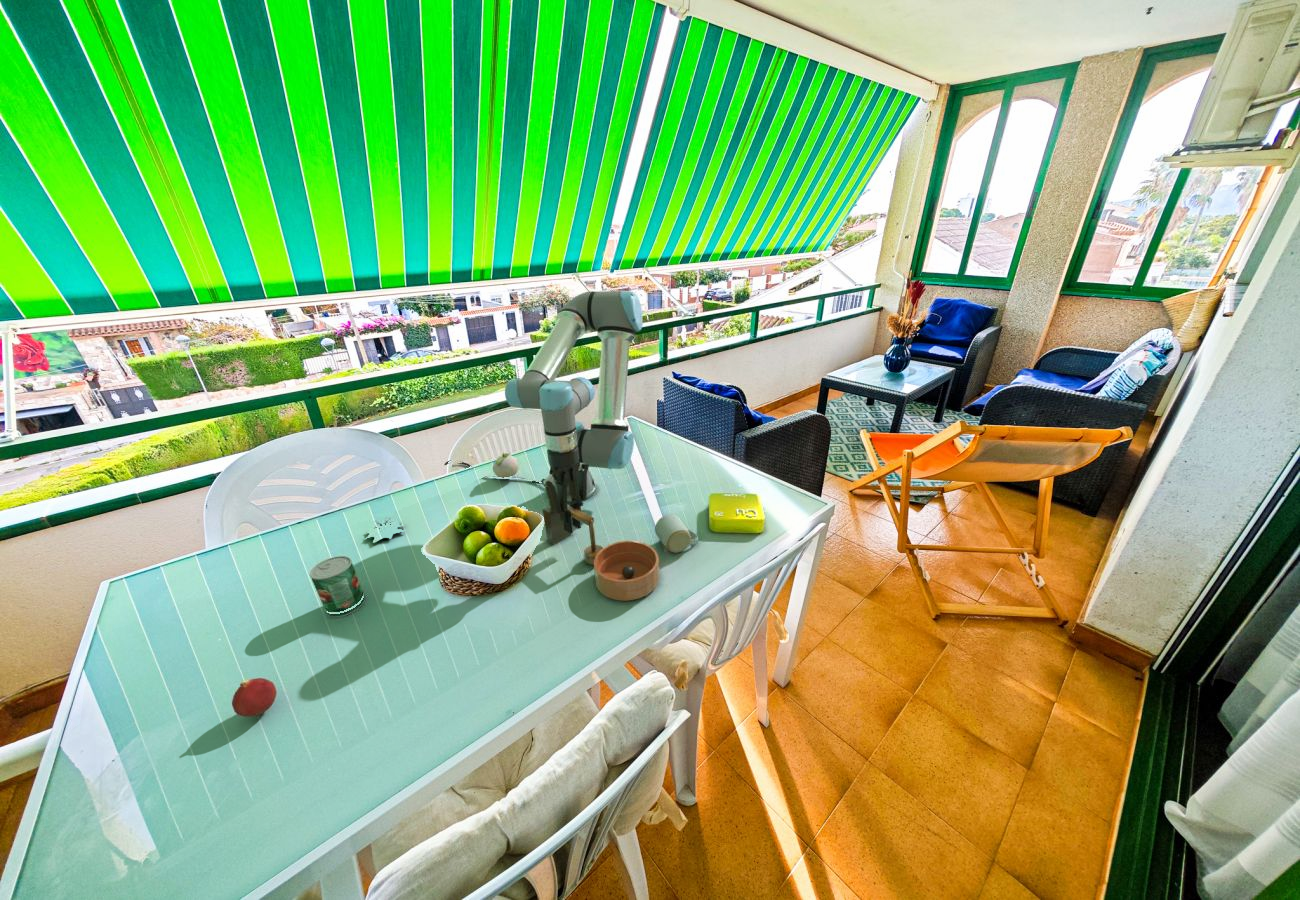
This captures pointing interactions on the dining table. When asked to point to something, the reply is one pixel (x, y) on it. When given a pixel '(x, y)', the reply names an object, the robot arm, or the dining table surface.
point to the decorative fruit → (505, 465)
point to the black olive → (628, 572)
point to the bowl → (612, 564)
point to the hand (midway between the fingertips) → (572, 528)
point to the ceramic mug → (674, 533)
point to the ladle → (589, 520)
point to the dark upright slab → (554, 526)
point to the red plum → (254, 697)
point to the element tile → (735, 513)
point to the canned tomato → (337, 585)
